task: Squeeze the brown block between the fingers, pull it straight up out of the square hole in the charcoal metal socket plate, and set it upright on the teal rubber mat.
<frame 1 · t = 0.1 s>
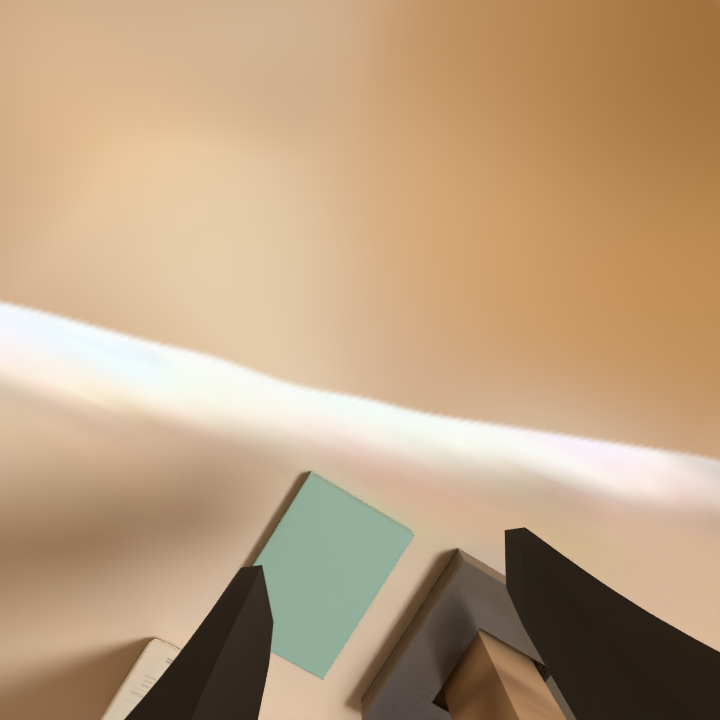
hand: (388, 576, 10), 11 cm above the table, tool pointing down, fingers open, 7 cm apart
skincare box: (163, 691, 21), on the table
mat: (317, 572, 21), on the table
brown block: (506, 717, 19), in the socket plate
socket plate: (484, 667, 22), on the table
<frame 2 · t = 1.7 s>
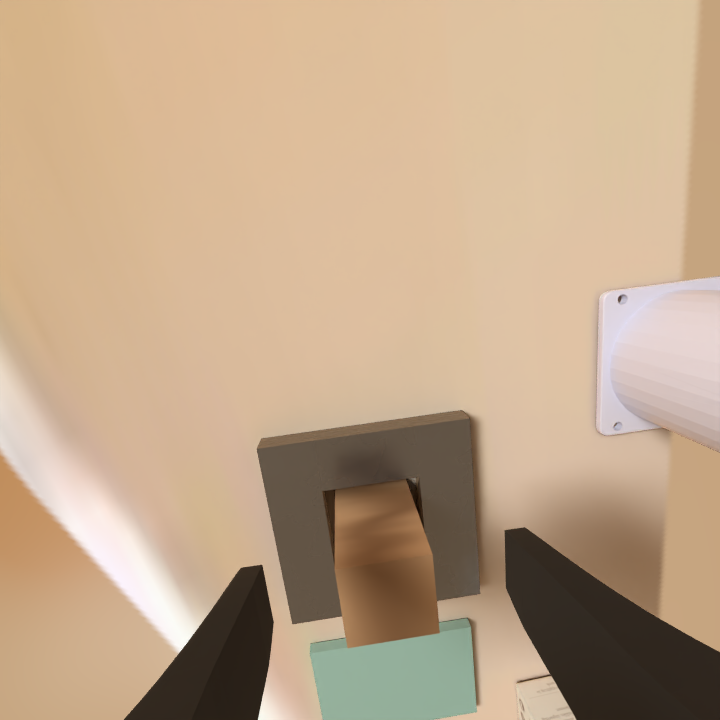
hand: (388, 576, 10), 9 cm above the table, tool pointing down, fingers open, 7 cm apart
skincare box: (557, 688, 25), on the table
mat: (395, 673, 23), on the table
brown block: (380, 549, 18), in the socket plate
socket plate: (374, 512, 21), on the table
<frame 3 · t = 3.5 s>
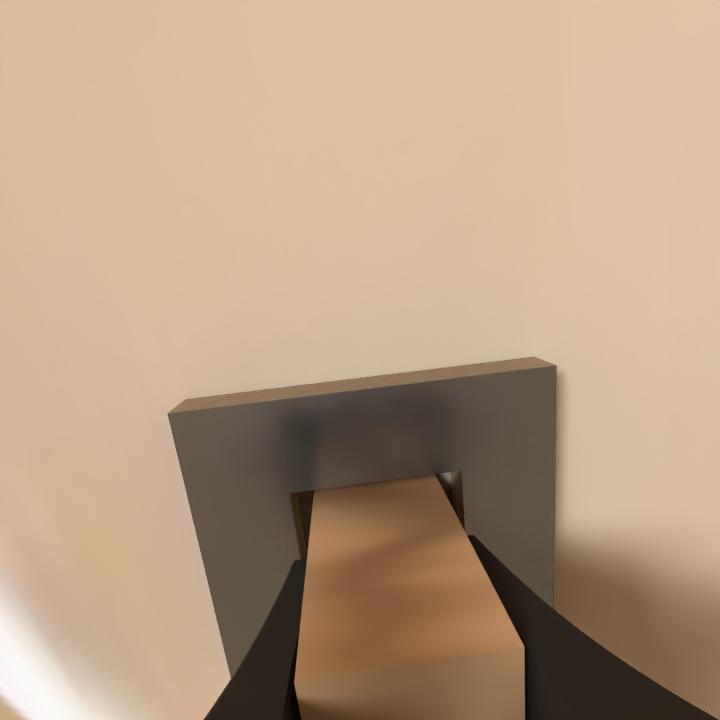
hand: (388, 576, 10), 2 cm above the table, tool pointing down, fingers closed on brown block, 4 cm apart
brown block: (393, 605, 9), in the socket plate, touching gripper
socket plate: (379, 529, 12), on the table
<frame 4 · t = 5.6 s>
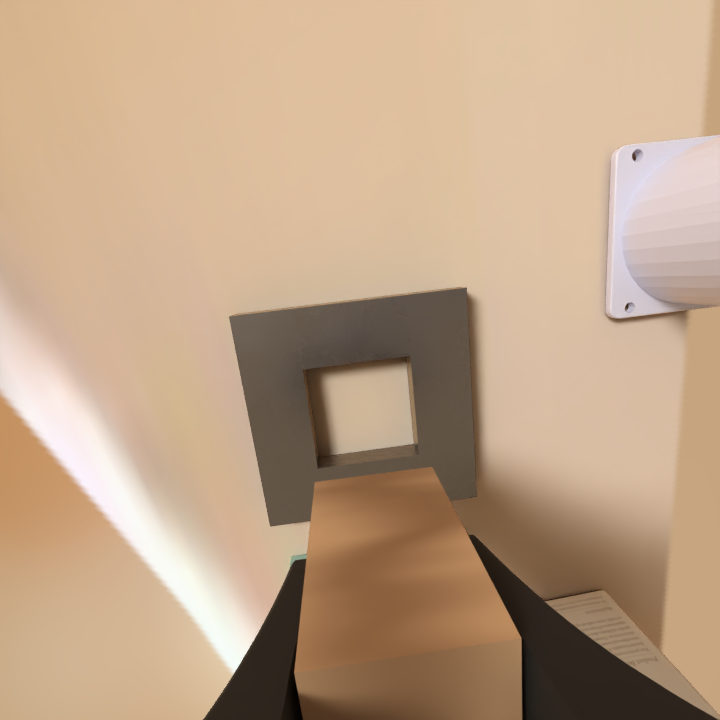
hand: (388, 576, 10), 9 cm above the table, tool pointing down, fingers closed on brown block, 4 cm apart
skincare box: (559, 616, 23), on the table
brown block: (392, 600, 10), point 10 cm above the table, touching gripper
socket plate: (361, 405, 19), on the table
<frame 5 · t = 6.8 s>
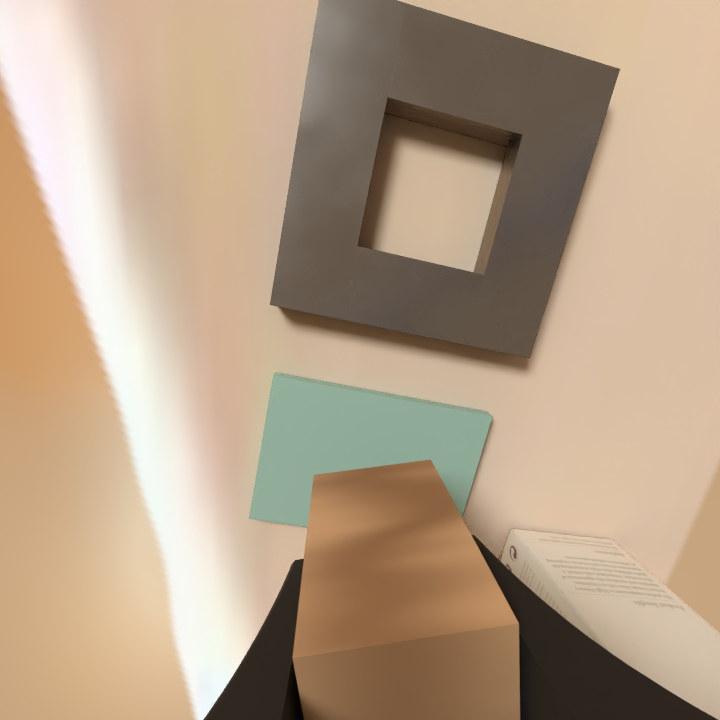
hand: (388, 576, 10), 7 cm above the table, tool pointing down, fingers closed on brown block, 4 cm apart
skincare box: (551, 559, 19), on the table
mat: (368, 461, 17), on the table
brown block: (391, 590, 10), point 8 cm above the table, touching gripper
socket plate: (430, 198, 15), on the table
when the fingers open (4 cm above the table, at t = 7.7 s): brown block drops 1 cm, resting on mat.
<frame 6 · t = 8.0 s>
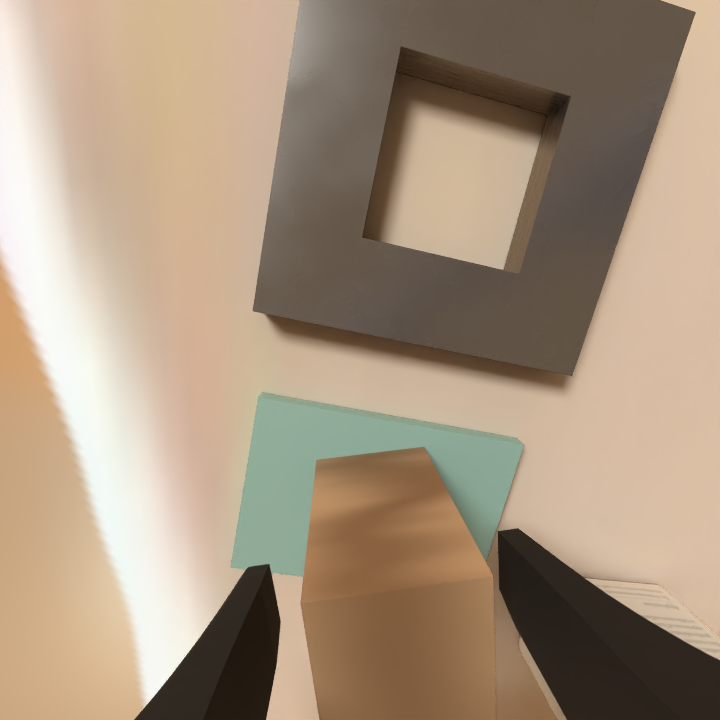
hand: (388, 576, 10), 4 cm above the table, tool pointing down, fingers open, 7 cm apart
skincare box: (587, 606, 16), on the table
mat: (374, 497, 14), on the table
brown block: (386, 561, 11), on the mat, point 4 cm above the table
socket plate: (451, 179, 12), on the table
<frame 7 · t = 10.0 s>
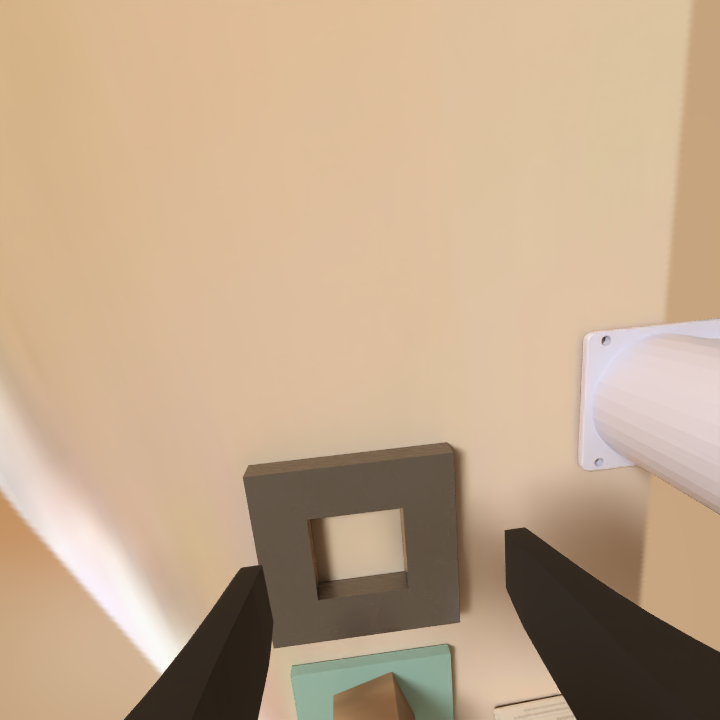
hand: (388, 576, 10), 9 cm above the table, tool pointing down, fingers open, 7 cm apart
skincare box: (534, 713, 25), on the table
mat: (375, 697, 24), on the table
socket plate: (358, 539, 21), on the table
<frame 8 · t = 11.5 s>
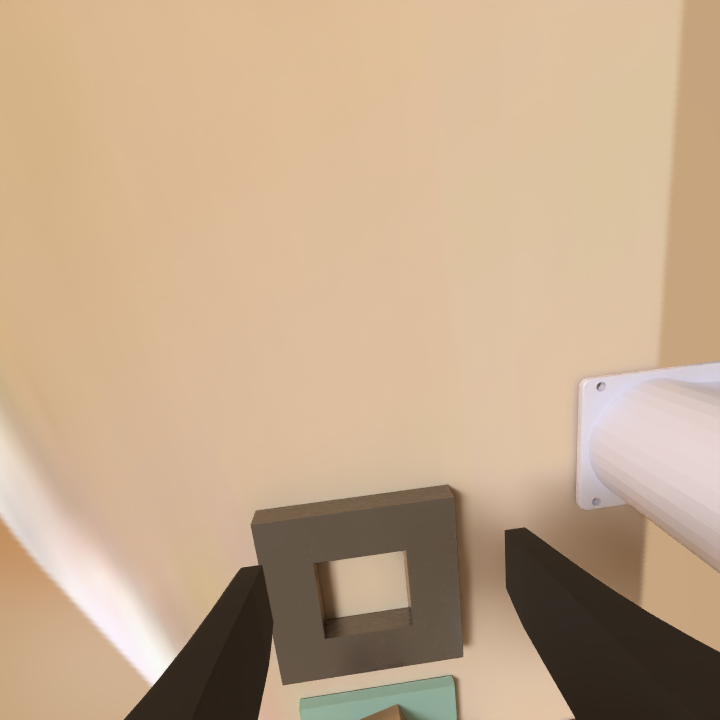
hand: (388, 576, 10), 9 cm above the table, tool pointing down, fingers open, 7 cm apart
socket plate: (362, 578, 22), on the table
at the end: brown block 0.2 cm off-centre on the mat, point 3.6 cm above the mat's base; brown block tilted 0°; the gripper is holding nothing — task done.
